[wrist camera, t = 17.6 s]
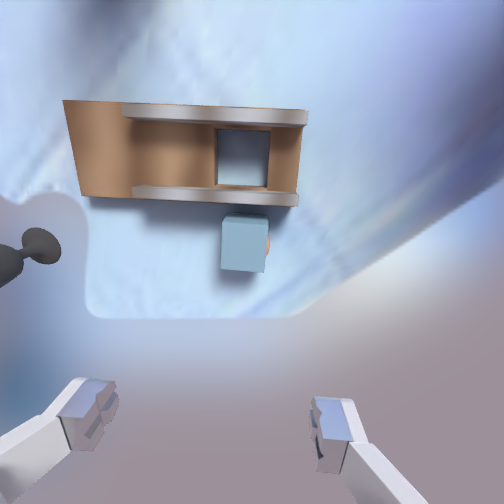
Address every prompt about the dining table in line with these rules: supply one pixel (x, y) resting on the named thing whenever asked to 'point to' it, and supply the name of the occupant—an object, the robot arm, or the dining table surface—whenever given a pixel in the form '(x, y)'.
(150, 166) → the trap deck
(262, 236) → the block
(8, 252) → the sundae
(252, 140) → the dining table surface
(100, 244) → the dining table surface
